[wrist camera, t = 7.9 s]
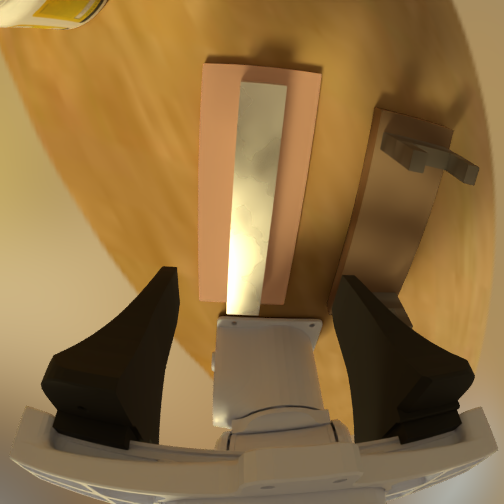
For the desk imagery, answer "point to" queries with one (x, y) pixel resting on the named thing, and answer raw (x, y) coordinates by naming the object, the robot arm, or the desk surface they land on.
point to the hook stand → (396, 202)
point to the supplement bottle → (48, 13)
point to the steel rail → (253, 191)
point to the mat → (222, 173)
